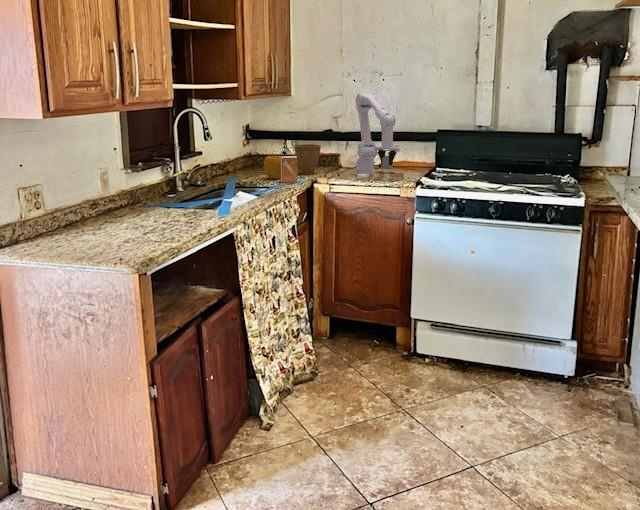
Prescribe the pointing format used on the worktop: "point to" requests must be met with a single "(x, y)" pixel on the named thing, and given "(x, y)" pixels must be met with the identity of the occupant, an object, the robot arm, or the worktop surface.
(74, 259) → the worktop surface
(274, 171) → the mustard rounded block
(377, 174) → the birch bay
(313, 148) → the plant pot
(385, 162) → the slate plug
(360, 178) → the pale grey block
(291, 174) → the small box
